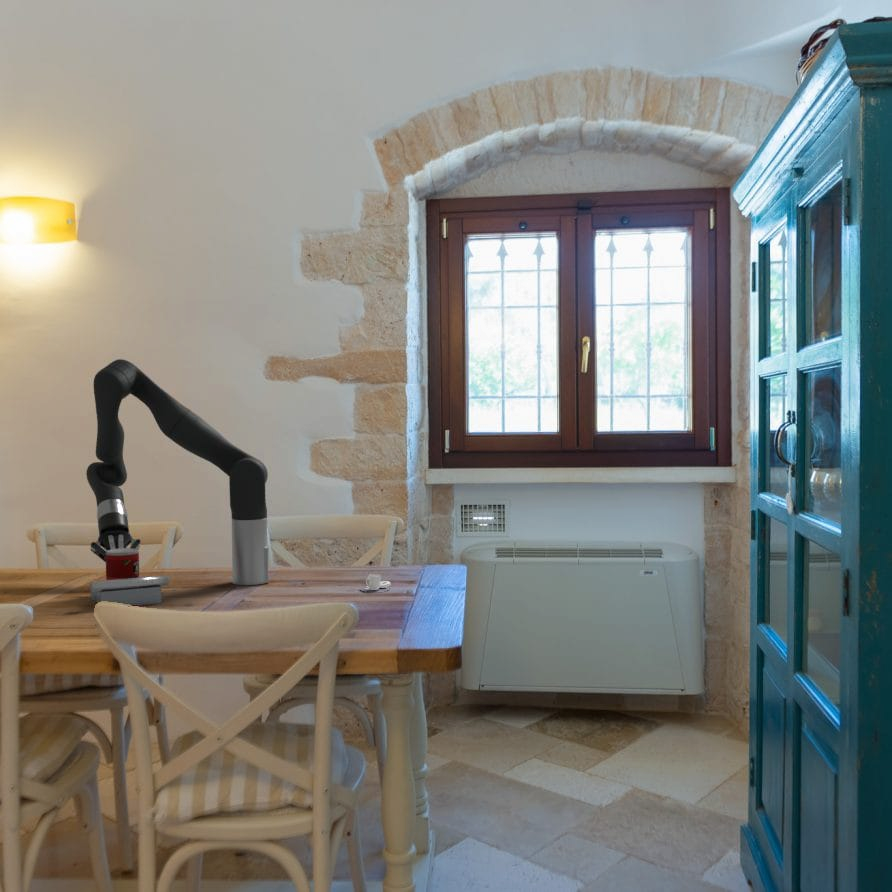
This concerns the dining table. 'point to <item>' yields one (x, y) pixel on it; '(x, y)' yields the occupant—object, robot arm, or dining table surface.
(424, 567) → the dining table surface
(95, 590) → the cradle
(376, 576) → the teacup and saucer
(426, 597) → the dining table surface
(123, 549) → the canned food
